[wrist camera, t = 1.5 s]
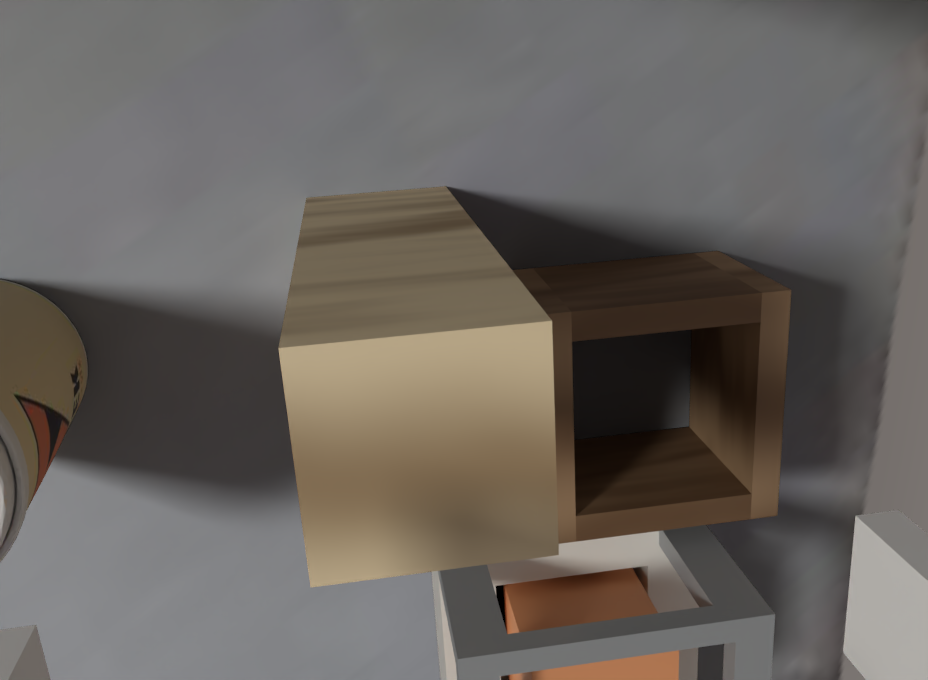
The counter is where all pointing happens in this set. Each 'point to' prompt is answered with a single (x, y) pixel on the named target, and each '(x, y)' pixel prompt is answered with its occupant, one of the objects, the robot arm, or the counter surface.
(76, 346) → the coffee cup
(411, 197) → the tan wooden block
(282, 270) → the counter surface
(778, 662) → the counter surface
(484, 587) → the grey frame
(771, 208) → the counter surface
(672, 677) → the orange cube
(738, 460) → the holder
